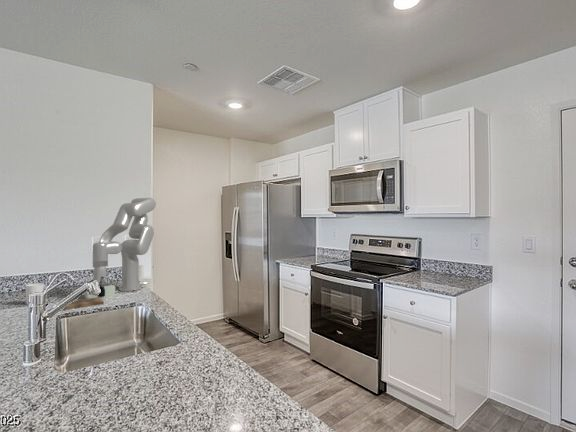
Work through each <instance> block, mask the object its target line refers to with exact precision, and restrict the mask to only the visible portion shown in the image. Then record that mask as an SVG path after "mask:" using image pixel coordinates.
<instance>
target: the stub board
mask: <svg viewBox="0 0 576 432" xmlns="http://www.w3.org/2000/svg"><path fill="white" fill-rule="evenodd" d="M83 298H84V299H83ZM83 298H82V299H77V300H75V299H74V302H72V303H71V304H69V305H68V306H66V307H65V308H64V309H63V310H62V311H67V310H66V309H68V310H73V309H72V308H74V309H78V308H79V309H80V308H85V307H92V306H93V307H94V306H98V305H99V306H100V305H104V300H103V298H99V297H96V298H90V294H85V293H84V296H83ZM54 304H56V302H54V303H53V305H54Z"/></svg>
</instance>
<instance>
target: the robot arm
mask: <svg viewBox="0 0 576 432" xmlns="http://www.w3.org/2000/svg"><path fill="white" fill-rule="evenodd" d="M156 205H157V203H156V201H155V199H154V198H152V197H138V198H137V197H136V198H132V200H131V202H128V203H127V202H126V203H123V204H121V205H120V207H119V209H118V212H117V215H116V216H115V219H114V221H113V223H112V224H111V225H110V226H109V227H108V228H107V229H105V231H104V232H103V233H102V234H101V236H100V238H99V241H98V242H94V243H92V268H93V280H97V281H98V283H99V286H100V289H101V293H100V294H99V295H98V297H103V296H105V286H106V285H105V284H107V268H108V267H109V266H108V265H109V264H108V263H109V255H118V254H119V253H121V269H122V270H121V279H122V280H121V287H119V291H120V292H133V290H134V291H137V290H138V289H139V290H141V289H142V286H144V285H145V286H146V285H147V283H148V282H147V281H139V278H140V275H139V274H140V273H139V272H140V270H139V269H140V267H139V265H140V262H139V257H138V256H144V255H145V254H146V253H148V251H149V249H150V246H151V243H152V241H153V237H154V233H155V232H154V228H153V226H152V225H150V224H148V221H149V218H148V215H147V214H148V213H150V212H152V211H153V210H155V208H156ZM133 217H134V218H133ZM132 218H133V221H132ZM131 221H132V222H131ZM130 223H131V225H130ZM129 227H130V228H129ZM128 229H129V230H128ZM127 230H128V231H129V232H128V237H129V238H131V239H127V240H126V239H125V240H124V241H122V242H121V243H120V242H119V241H112V240H113V239H114V238H115V237H116V236H117V235H118V234H121V233H123V232H125V231H127ZM140 288H141V289H140Z"/></svg>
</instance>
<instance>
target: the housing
mask: <svg viewBox="0 0 576 432" xmlns="http://www.w3.org/2000/svg"><path fill="white" fill-rule="evenodd" d="M85 294H89V292H86V293H85V292H84V295H85ZM96 297H98V295H97V296H95V295H90V298H96ZM105 297H106V298H112V297H116V286H115V285H113V284H112V285H105V296H103V297H99V298H100V299H106V298H105Z"/></svg>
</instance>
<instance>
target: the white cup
mask: <svg viewBox="0 0 576 432" xmlns="http://www.w3.org/2000/svg"><path fill="white" fill-rule="evenodd" d="M24 287H25V303H26V305H28V295H29V294H30V293H35V292H42V291H45V283H43V282H39V283H38V282H37V283H29V284H25V286H24ZM28 306H29V305H28Z"/></svg>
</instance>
